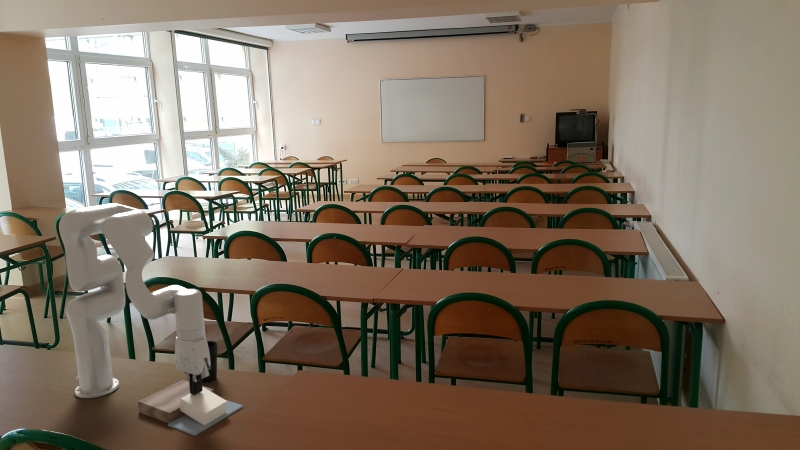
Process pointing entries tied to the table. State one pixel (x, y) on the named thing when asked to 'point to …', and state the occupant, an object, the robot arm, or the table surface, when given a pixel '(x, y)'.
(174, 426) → the mat
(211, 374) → the cup
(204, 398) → the cream rectangular block
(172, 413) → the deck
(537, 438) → the table surface
